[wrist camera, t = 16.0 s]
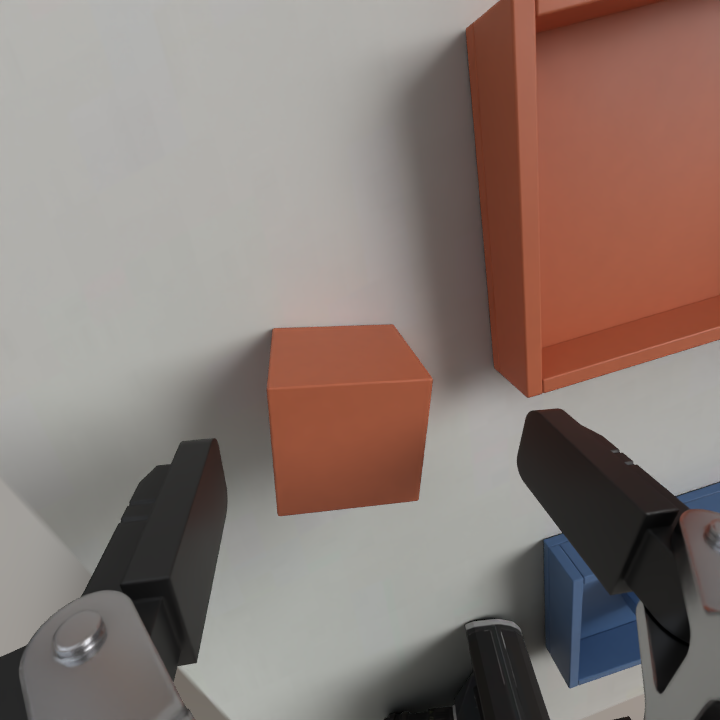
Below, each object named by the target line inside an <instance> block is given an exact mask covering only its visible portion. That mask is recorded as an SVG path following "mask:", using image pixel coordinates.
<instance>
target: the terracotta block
mask: <svg viewBox="0 0 720 720" xmlns="http://www.w3.org/2000/svg"><path fill="white" fill-rule="evenodd" d="M432 383H433V379H432V377H431V376H430V374H429V373H428V371H427V370H426V369H425V367H424V366H423V365H422V363H421V362H420V361H419V359H418V358H417V356H416V355H415V354H414V352H413V351H412V350H411V348H410V347H409V346H408V344H407V343H406V341H405V340H404V339H403V337H402V336H401V335H400V333H399V332H398V330H397V329H396V328H395V326H394V325H392V324H390V325H361V326H331V327H302V328H274V329H273V330H272V339H271V350H270V360H269V370H268V380H267V400H268V411H269V423H270V434H271V446H272V457H273V468H274V480H275V491H276V503H277V514H278V516H287V515H295V514H304V513H313V512H322V511H331V510H340V509H348V508H357V507H366V506H375V505H384V504H392V503H401V502H410V501H417V500H418V499H419V491H420V483H421V475H422V466H423V458H424V450H425V441H426V433H427V425H428V416H429V408H430V400H431V391H432Z"/></svg>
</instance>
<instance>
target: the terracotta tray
mask: <svg viewBox="0 0 720 720" xmlns="http://www.w3.org/2000/svg"><path fill="white" fill-rule="evenodd" d="M466 39H467V51H468V63H469V75H470V86H471V98H472V110H473V122H474V134H475V146H476V158H477V170H478V181H479V193H480V205H481V217H482V229H483V241H484V253H485V264H486V276H487V288H488V300H489V312H490V324H491V336H492V348H493V359H494V368H495V369H496V370H497V371H498V372H500V373H501V374H502V375H503V376H504V377H505V378H506V379H507V380H508V381H509V382H511V383H512V384H513V385H514V386H515V387H516V388H517V389H518V390H519V391H520V392H522V393H523V394H524V395H525V396H526V397H527V398H530V397H533V396H536V395H539V394H542V393H546V392H549V391H553V390H556V389H559V388H563V387H566V386H569V385H572V384H576V383H579V382H582V381H585V380H589V379H592V378H595V377H599V376H602V375H605V374H608V373H612V372H615V371H618V370H621V369H625V368H628V367H631V366H635V365H638V364H641V363H644V362H648V361H651V360H654V359H657V358H661V357H664V356H667V355H671V354H674V353H677V352H680V351H684V350H687V349H690V348H693V347H697V346H700V345H703V344H707V343H710V342H713V341H716V340H720V0H500V1H499V2H497V3H496V4H495V5H494V6H493V7H492V8H490V9H489V10H488V11H487V12H486V13H484V14H483V15H482V16H481V17H480V18H478V19H477V20H476V21H475V22H473V23H472V24H471V25H470V26H469V27H467V28H466Z"/></svg>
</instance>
